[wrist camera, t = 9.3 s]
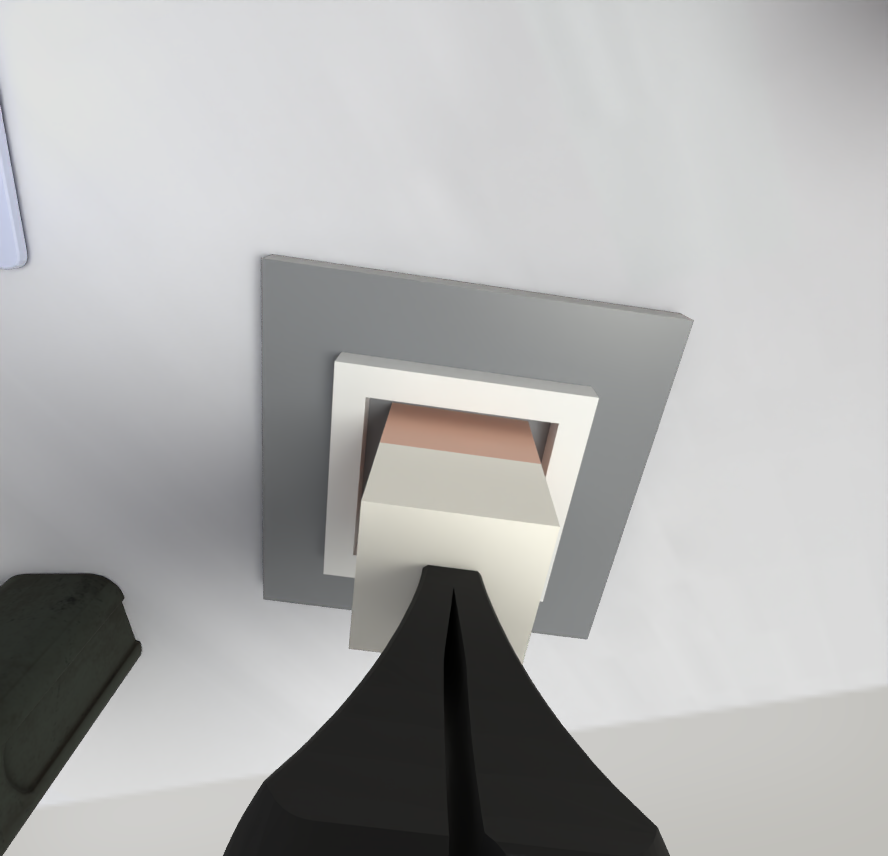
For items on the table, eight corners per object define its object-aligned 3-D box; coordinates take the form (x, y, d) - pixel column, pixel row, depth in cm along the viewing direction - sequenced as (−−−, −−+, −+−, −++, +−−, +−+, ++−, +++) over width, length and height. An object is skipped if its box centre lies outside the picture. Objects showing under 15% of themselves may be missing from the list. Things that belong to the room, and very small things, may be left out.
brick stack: (380, 517, 19) (348, 648, 14) (392, 402, 17) (361, 500, 12) (502, 533, 19) (521, 669, 14) (528, 421, 17) (559, 527, 12)
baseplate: (271, 582, 22) (254, 618, 20) (272, 254, 16) (248, 261, 14) (581, 621, 22) (592, 659, 20) (681, 313, 17) (708, 328, 15)
